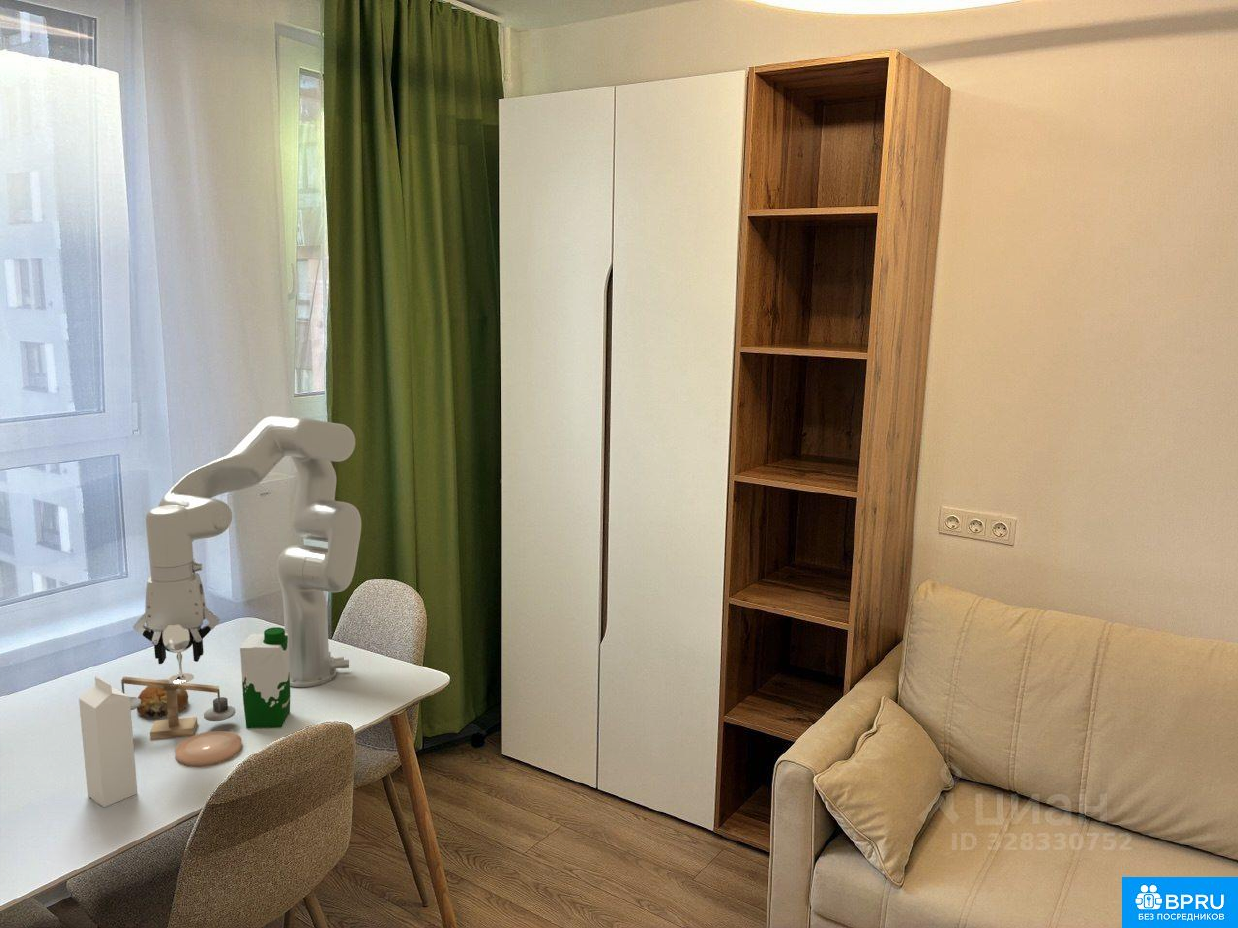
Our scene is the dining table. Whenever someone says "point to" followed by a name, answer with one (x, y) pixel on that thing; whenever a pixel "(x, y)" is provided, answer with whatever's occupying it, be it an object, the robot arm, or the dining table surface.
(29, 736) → the dining table surface
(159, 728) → the balance
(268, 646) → the milk carton
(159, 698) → the bread roll
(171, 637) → the wineglass
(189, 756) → the dish
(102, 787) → the milk
